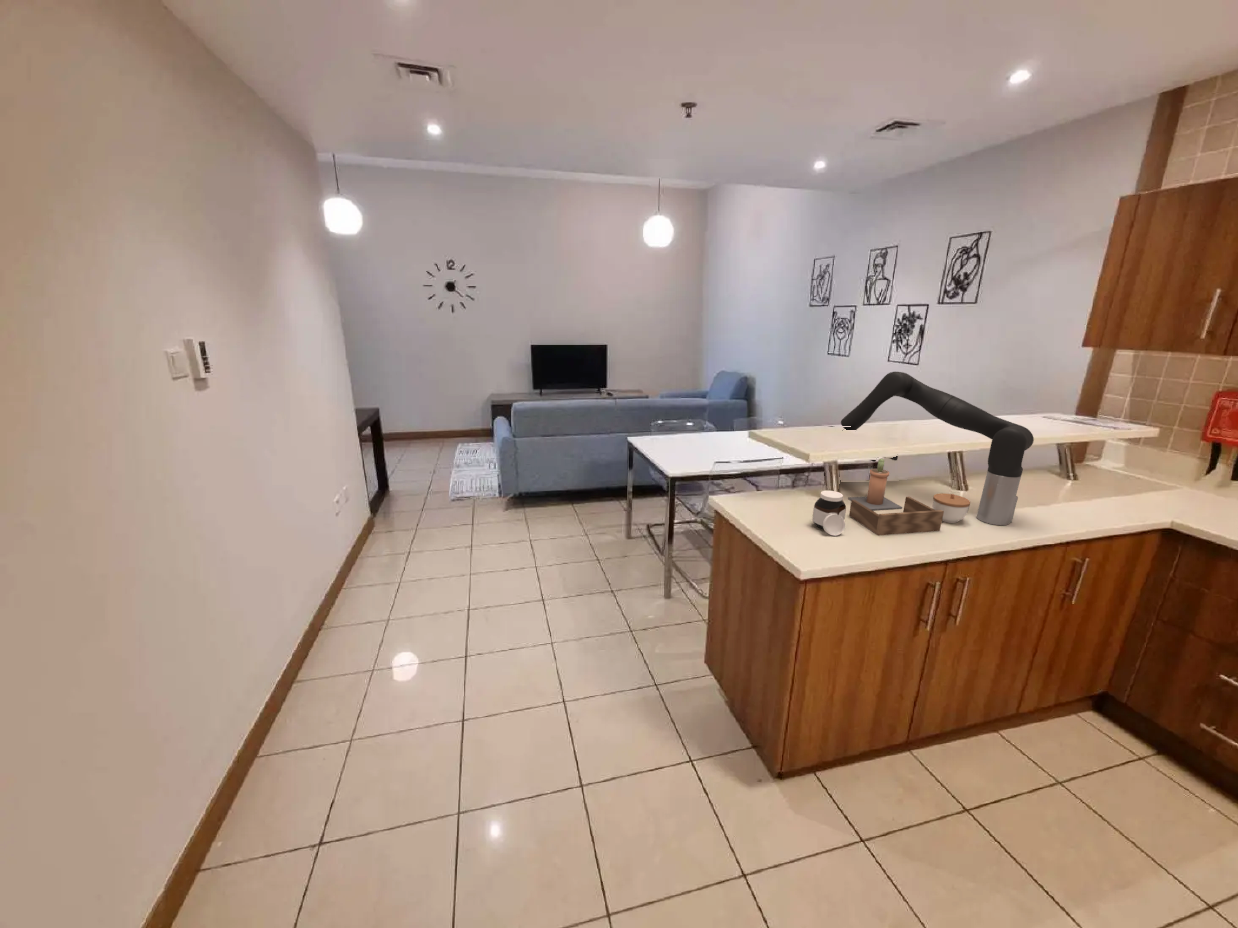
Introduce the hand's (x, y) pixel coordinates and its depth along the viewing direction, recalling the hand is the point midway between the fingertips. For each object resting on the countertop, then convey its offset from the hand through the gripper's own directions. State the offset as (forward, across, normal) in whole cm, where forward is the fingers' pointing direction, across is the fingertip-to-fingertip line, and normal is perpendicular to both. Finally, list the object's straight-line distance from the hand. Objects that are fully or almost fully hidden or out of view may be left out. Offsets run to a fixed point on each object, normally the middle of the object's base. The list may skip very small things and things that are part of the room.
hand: (886, 458), depth 180 cm
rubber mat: (-2, 0, +18) cm, 19 cm away
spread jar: (+16, -29, +19) cm, 38 cm away
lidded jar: (+15, +16, +19) cm, 29 cm away
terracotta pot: (-2, 0, +18) cm, 18 cm away
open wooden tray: (+15, -5, +19) cm, 24 cm away
